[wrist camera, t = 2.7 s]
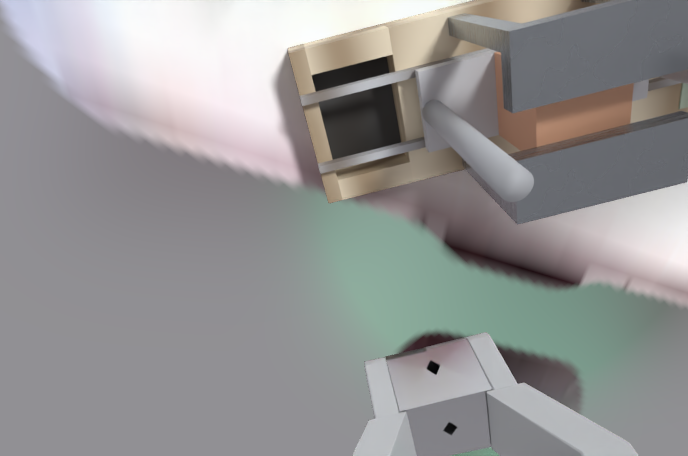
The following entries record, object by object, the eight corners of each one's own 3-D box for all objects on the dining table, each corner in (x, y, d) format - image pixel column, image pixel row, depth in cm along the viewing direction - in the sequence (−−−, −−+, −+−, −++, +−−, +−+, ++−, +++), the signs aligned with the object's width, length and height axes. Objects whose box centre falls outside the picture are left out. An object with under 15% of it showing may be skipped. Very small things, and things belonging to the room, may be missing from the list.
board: (771, -76, 28) (822, -82, 26) (739, 85, 33) (779, 94, 31) (288, 47, 29) (288, 54, 26) (326, 188, 34) (329, 207, 31)
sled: (647, 10, 27) (885, 29, 16) (640, 94, 29) (842, 159, 19) (413, 69, 27) (494, 128, 16) (424, 148, 29) (501, 243, 19)
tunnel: (598, -22, 26) (719, -23, 19) (591, 134, 31) (687, 182, 24) (447, 17, 27) (509, 31, 19) (462, 166, 31) (517, 224, 24)
